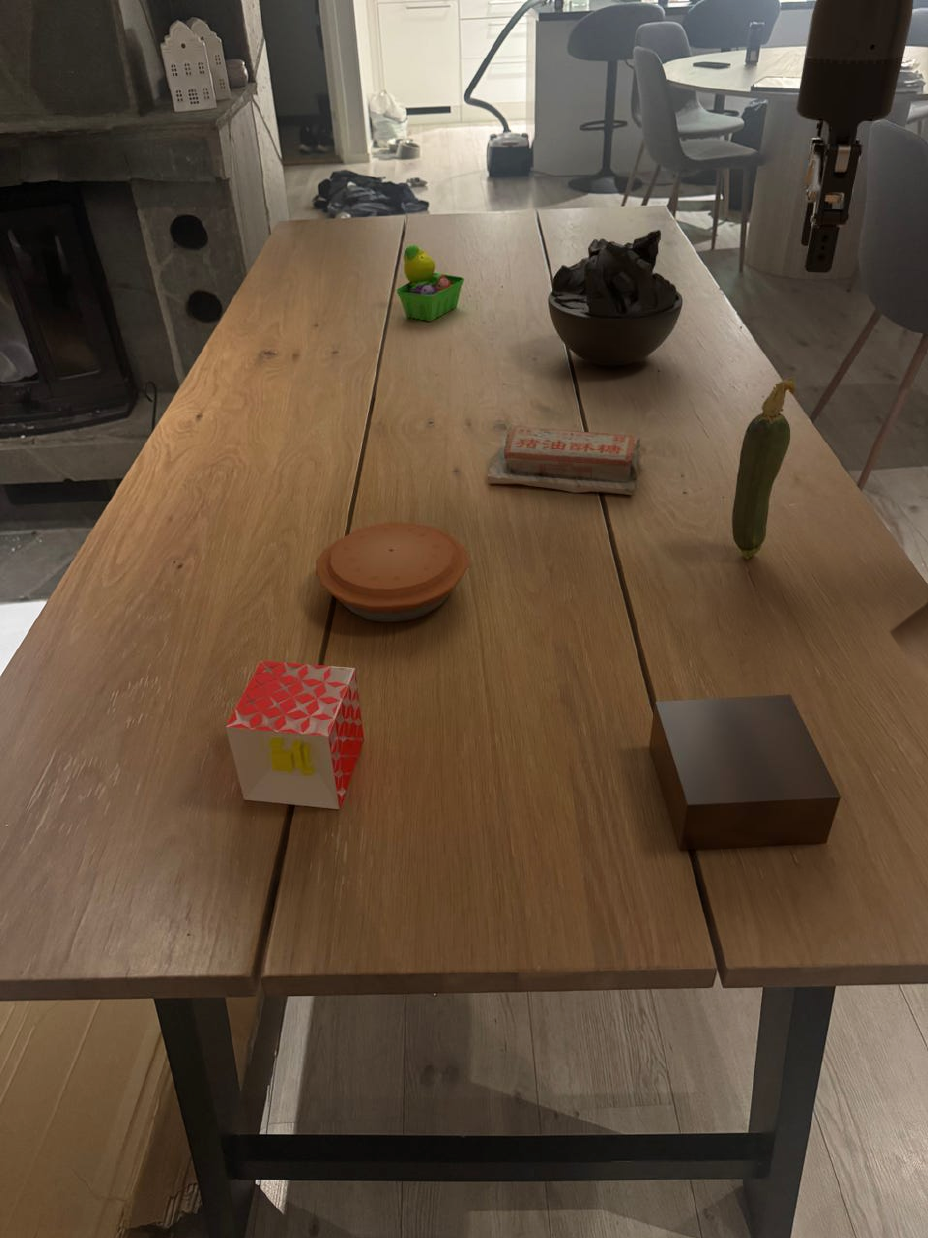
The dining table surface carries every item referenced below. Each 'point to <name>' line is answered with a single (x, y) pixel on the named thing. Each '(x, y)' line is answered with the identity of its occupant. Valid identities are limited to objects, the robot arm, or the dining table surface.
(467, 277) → the dining table surface
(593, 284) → the bowl of black rocks
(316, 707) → the red patterned cube box
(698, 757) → the block
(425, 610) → the pie
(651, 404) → the dining table surface
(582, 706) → the dining table surface
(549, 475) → the packaged product
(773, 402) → the vegetable
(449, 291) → the fruit basket
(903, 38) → the robot arm
